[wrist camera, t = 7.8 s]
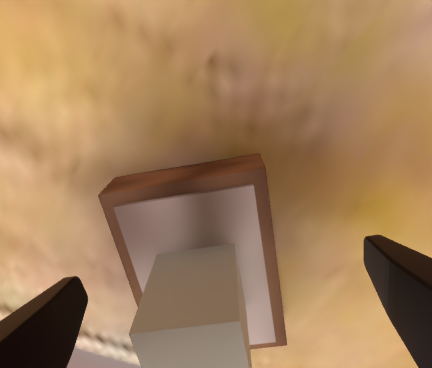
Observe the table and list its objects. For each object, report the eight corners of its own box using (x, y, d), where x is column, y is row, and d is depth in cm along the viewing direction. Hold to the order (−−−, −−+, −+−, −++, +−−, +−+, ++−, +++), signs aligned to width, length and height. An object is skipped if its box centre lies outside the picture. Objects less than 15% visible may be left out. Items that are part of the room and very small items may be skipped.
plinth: (259, 153, 20) (266, 170, 17) (279, 313, 25) (288, 348, 22) (115, 177, 20) (96, 197, 17) (163, 327, 26) (155, 363, 22)
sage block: (234, 243, 18) (239, 321, 13) (245, 305, 20) (254, 396, 15) (156, 254, 19) (128, 334, 13) (174, 313, 21) (156, 406, 15)
